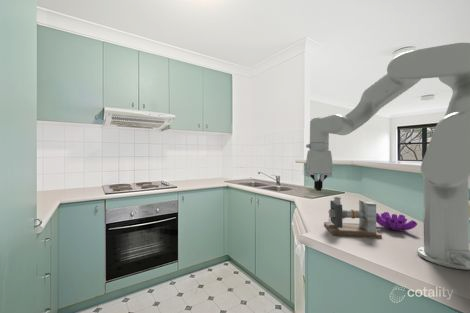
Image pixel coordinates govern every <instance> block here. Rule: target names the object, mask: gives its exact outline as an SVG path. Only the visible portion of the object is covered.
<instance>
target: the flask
mask: <svg viewBox="0 0 470 313" xmlns="http://www.w3.org/2000/svg"><path fill="white" fill-rule="evenodd" d="M333 199H334V200H333V201H337V202H338V203H340V204H341V205H342V202H341V199H342V197H341V196H333ZM342 210H344V209H343V208H342ZM342 219H345V218H344V217H342Z"/></svg>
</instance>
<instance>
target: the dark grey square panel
mask: <svg viewBox="0 0 470 313" xmlns="http://www.w3.org/2000/svg"><path fill="white" fill-rule="evenodd" d="M342 209H343V205H342V203H341V204H340V203H338V202H337V201H334V200H330V210H335V217H330V222H332V223H333V224H334V225H335V226H336V227H337V228H342V223H343V218H342Z"/></svg>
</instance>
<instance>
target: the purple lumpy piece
mask: <svg viewBox="0 0 470 313" xmlns="http://www.w3.org/2000/svg"><path fill="white" fill-rule="evenodd" d="M407 220H408V219H407V218H406V216H405V215H404V214H399V215H397V213H392V214H390V213H389V212H388V211H387V212H386V211H385V212H382V213H378V212H376V224H378V225H379V226H381V227H384V228H385V229H389V230H394V231H410V230H412V229H414V228H416V227H417V226H418V222H416V221H415V220H410V221H408V222H407Z"/></svg>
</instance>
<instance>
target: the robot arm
mask: <svg viewBox="0 0 470 313" xmlns="http://www.w3.org/2000/svg"><path fill="white" fill-rule="evenodd" d="M434 78H438V80H439V81H440V82H441V83H443V84H445V85H446V86H448V87H449V88H451V91H452V95H451V98H450V100H449V102H448V105H447V109H446V112H445V114H444V117H443V118H441V120H439V122H437V124H436V126H435V128H434V131H433V133H432V135H431V139H430V141H429V143H428V146H427V148H426V152H425V153H424V157H423V158H422V162H421V165H420V172H421V176H422V177H423V186H422V187H423V193H422V195H423V198H422V199H423V207H422V208H423V209H422V210H423V213H422V214H423V246H420V247H418V248H417V251H416V252H417V254H418V255H419V257H421V258H422V259H425V260H426V261H429V262H430V263H433V264H436V265H439V266H443V267H446V268H451V269H456V270H464V271H465V270H467V271H470V217H469V216H470V212H469V211H470V203H469V201H470V200H469V199H470V198H469V196H470V195H469V194H470V193H469V177H470V42H456V43H449V44H448V43H447V44H443V45H438V46H437V45H436V46H431V47H426V48H425V47H424V48H419V49H414V50H409V51H406V52H402V53H400V54H398V55H396V56H394V57H393V58H392V59H391V60H390V61H389V63H388V64H387V67H386V74H384V75H383V76H381V77H380V78H379V79H378V80H377V81H375V82H374V83H373V84H371V85H370V86H369V87H367V88H366V89H364V91H363V93H361V94H362V95H361V97H360V99H359V102H358V104H356V106H355V107H354V108H353V109H352V110H351V111H349V112H348V113H346V114H345V115H344V116H343V115H341V114H331V115H328V116H324V117H313V118H311V120H310V122H309V143H308V144H306V145H305V147H306V149H307V148H308V149H309V150H308V151H307V154H306V162H305V173H304V175H305V176H306V177H309V178H311V179H312V180H313V181H314V182H313V183H314V184H313V185H314V187H313V188H314V189H315V191H317V192H319V191H320V192H321V191H322V190H323V182H324V181H325V180H326V179H327V178H331V177H333V171H334V168H333V157H332V150H329V149H330V147H329V144H330V142H329V140H330V139H329V138H330V134H331V135H332V134H333V135H339V136H346V135H349V134H351V133H353V132H355V131H356V130H358V129H359V128H360V127H362V126H363V125H364V124H366V123H367V122H369V120H371V118H373V117H374V115H375V116H376V114H377V113H378V112H379V111H380V110H381V109H382V108H384V107H385V106H386V105H388V104H389V103H391V102H392V101H394V100H395V99H397V98H398V97H400V95H402V94H404V93H405V92H407V91H409V89H411V88H412V87H414V86H415V85H416V84H418V83H419V82H420V81H421V80H422V79H434ZM318 175H319V179H318Z"/></svg>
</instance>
